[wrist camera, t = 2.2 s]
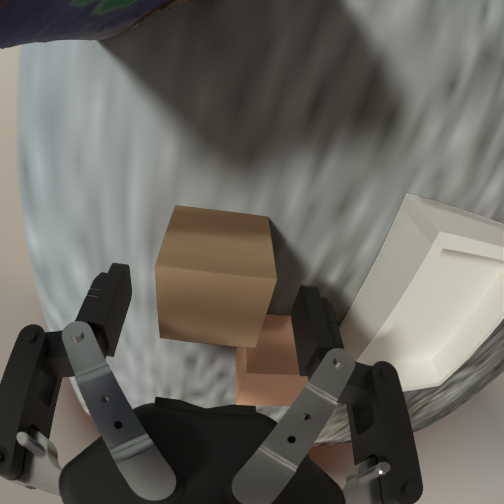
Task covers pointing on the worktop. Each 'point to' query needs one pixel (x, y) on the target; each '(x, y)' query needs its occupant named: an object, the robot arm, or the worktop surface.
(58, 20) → the flask
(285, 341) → the terracotta block
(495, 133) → the worktop surface
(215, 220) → the walnut block
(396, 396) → the robot arm
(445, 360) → the tray
